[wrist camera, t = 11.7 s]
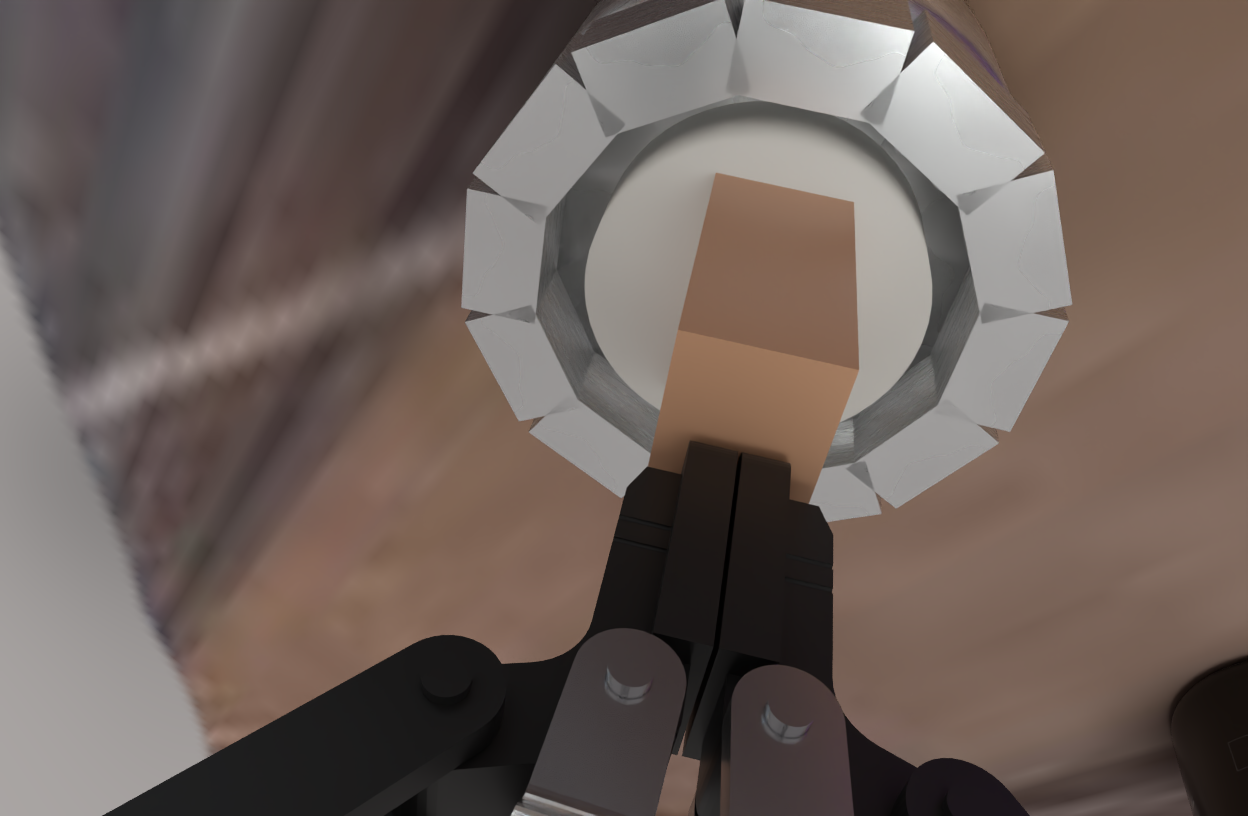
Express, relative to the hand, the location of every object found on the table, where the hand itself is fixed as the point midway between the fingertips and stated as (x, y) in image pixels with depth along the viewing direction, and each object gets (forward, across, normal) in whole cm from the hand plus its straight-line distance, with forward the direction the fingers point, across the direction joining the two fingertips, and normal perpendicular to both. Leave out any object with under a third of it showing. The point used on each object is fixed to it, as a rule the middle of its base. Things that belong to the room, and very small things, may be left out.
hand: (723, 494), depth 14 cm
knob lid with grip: (+7, 0, 0) cm, 7 cm away
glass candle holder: (+12, 0, 0) cm, 12 cm away
